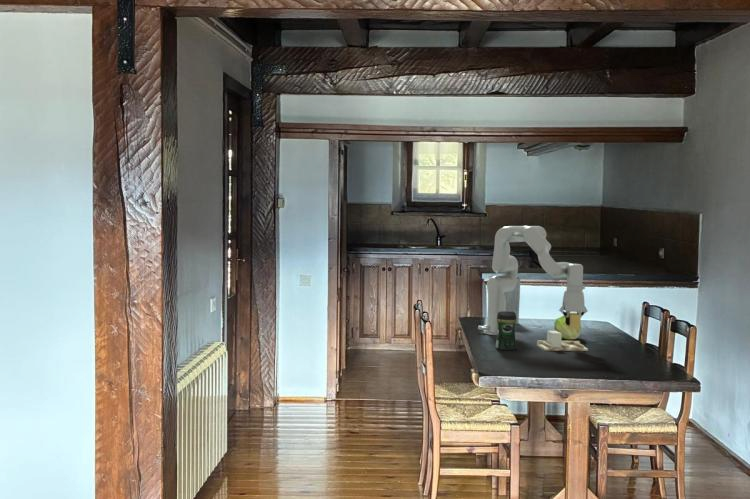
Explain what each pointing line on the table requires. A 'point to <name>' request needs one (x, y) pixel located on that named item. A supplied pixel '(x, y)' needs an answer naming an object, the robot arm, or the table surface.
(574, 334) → the lettuce
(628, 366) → the table surface
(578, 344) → the slot board
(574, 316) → the ochre bar
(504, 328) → the coffee jar
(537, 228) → the robot arm
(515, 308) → the vase
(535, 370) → the table surface
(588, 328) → the table surface
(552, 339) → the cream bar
